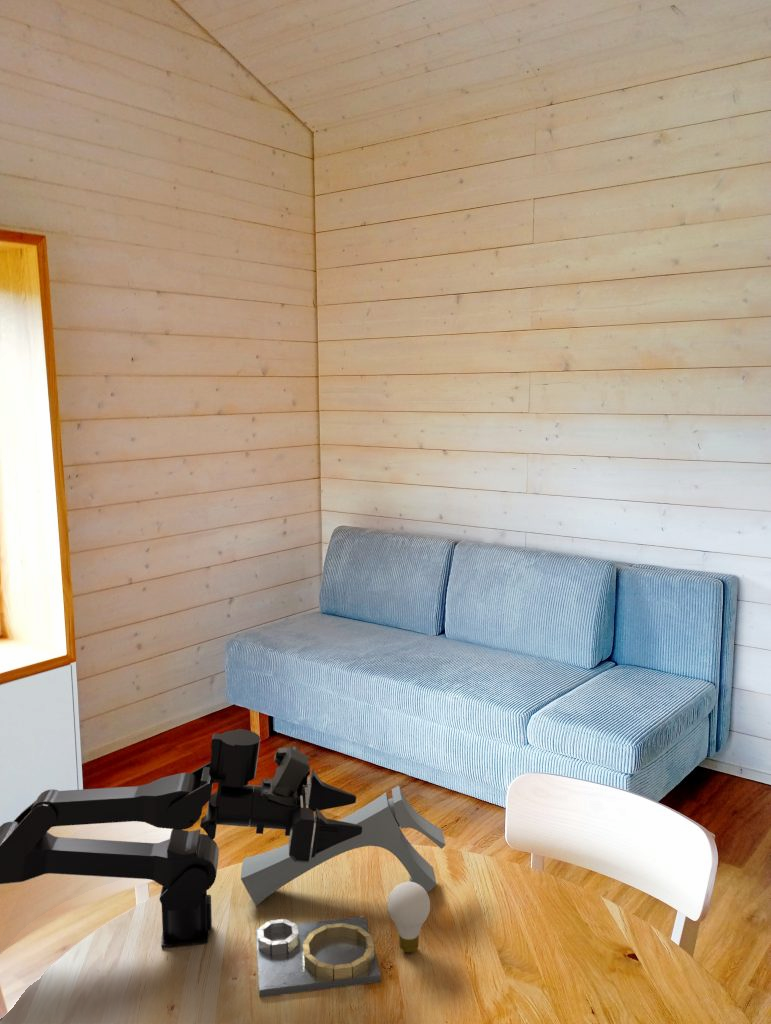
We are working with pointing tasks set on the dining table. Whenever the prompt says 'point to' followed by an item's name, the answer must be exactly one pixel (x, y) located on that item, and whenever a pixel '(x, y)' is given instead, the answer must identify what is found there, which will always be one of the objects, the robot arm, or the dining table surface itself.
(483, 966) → the dining table surface
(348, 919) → the plate
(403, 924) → the light bulb
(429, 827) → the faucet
